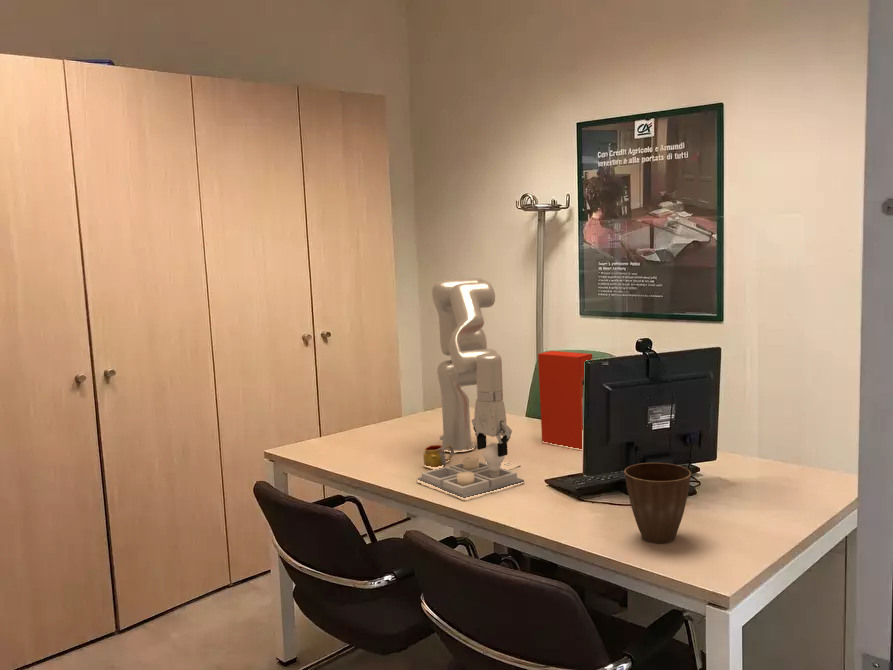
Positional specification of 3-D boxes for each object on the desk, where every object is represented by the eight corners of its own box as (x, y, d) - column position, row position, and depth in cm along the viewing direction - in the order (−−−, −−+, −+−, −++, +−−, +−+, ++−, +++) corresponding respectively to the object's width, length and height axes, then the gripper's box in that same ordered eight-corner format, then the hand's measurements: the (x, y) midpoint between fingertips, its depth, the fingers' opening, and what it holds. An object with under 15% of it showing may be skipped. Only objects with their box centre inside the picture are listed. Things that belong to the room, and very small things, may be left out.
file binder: (581, 451, 259) (578, 357, 255) (541, 443, 271) (538, 353, 268) (595, 446, 264) (592, 353, 260) (556, 438, 277) (552, 350, 273)
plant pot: (659, 521, 191) (658, 458, 189) (706, 540, 178) (705, 472, 176) (613, 534, 184) (611, 469, 182) (657, 555, 171) (655, 485, 169)
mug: (433, 471, 244) (432, 451, 244) (419, 467, 250) (418, 447, 249) (461, 463, 252) (460, 443, 251) (447, 459, 257) (446, 440, 257)
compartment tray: (416, 482, 233) (415, 466, 233) (474, 467, 246) (473, 451, 245) (464, 501, 214) (463, 483, 213) (524, 483, 227) (523, 466, 226)
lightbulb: (490, 475, 232) (489, 439, 231) (509, 478, 229) (508, 442, 228) (480, 481, 227) (478, 445, 226) (499, 484, 224) (498, 447, 222)
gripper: (461, 393, 230) (464, 448, 233) (499, 402, 217) (501, 461, 219) (481, 389, 235) (483, 443, 237) (519, 398, 221) (521, 455, 223)
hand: (492, 452), depth 228 cm, fingers open, 9 cm apart
